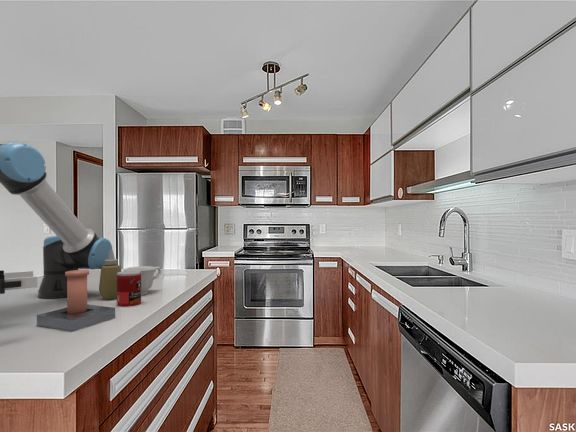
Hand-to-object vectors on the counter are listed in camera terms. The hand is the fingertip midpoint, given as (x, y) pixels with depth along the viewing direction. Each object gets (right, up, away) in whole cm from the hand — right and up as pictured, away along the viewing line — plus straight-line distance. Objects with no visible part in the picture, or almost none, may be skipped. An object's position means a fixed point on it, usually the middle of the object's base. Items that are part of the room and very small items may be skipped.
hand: (35, 278), depth 99 cm
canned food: (+13, -14, +28) cm, 34 cm away
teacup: (+11, -14, +46) cm, 49 cm away
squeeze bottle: (+3, -14, +37) cm, 39 cm away
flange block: (+8, -13, +6) cm, 17 cm away
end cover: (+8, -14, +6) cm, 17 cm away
